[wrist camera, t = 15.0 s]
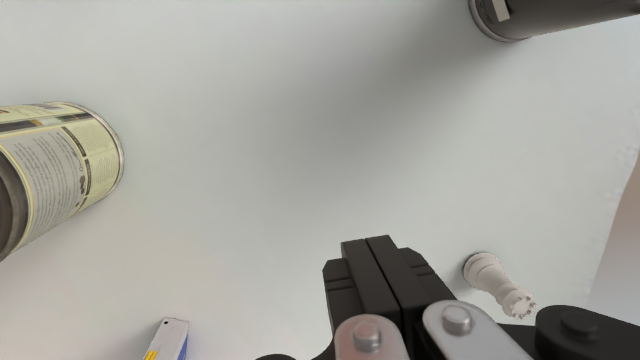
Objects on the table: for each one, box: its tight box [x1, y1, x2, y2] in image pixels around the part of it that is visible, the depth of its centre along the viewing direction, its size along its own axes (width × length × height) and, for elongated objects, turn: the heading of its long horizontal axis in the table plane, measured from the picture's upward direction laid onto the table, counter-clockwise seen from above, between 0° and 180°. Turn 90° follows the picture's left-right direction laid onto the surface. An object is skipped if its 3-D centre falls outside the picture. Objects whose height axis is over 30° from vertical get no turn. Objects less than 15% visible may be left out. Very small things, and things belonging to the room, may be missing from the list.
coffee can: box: [0, 102, 124, 262], centre depth 26 cm, size 10×10×14 cm
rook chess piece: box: [463, 253, 536, 320], centre depth 37 cm, size 4×4×8 cm
